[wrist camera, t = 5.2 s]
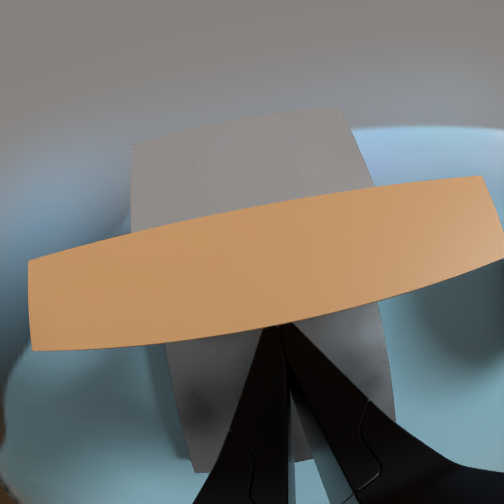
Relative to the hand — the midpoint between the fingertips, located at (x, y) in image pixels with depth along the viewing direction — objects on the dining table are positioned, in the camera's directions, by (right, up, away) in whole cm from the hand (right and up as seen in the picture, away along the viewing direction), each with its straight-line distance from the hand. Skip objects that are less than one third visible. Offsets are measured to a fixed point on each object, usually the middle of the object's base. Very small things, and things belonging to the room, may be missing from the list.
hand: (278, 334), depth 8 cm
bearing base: (0, -3, +7) cm, 7 cm away
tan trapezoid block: (0, +2, +6) cm, 6 cm away
